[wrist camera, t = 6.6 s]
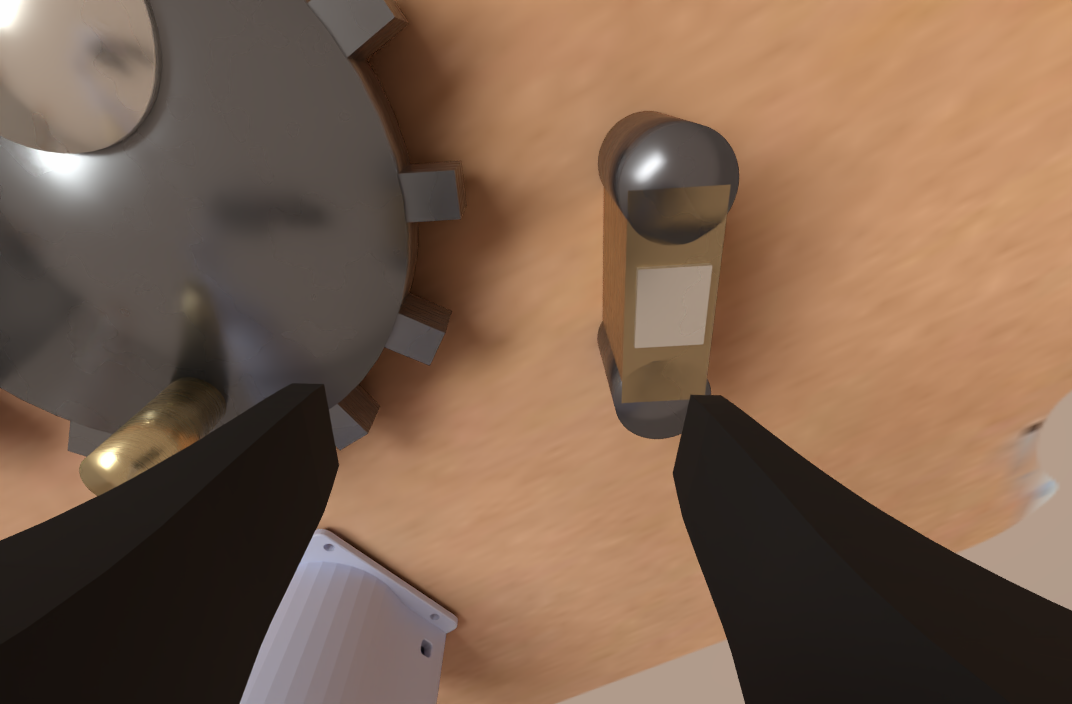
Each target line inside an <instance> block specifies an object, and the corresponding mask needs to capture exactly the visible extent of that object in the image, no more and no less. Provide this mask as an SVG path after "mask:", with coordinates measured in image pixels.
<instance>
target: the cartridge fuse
mask: <svg viewBox="0 0 1072 704" xmlns="http://www.w3.org/2000/svg"><path fill="white" fill-rule="evenodd" d="M598 171H599V176H600V179H601V182H602V184H603V186H604V226H603V321H602V323H601V325H600V328H599V331H598V338H597V339H598V346H599V350H600V354H601V357H602V361H603V365H604V369H605V372H606V376H607V380H608V383H609V387H610V391H611V395H612V398H613V402H614V406H615V410H616V413H617V416H618V418H619V420H620V422H621V423H622V424H623V426H624V427H625V428H627V429H628V430H629V431H631V432H632V433H634V434H636V435H638V436H641V437H645V438H650V439H664V438H670V437H674V436H677V435H679V434H682V430H683V426H684V421H685V417H686V412H687V408H688V404H689V399H690V395H711V388H710V384H709V382H708V379H707V374H708V365H709V357H710V349H711V341H712V333H713V325H714V316H715V308H716V300H717V292H718V284H719V276H720V267H721V259H722V251H723V243H724V235H725V227H726V219H727V214H728V212H729V210H730V208H731V207H732V204H733V202H734V200H735V197H736V194H737V190H738V185H739V168H738V163H737V159H736V156H735V153H734V151H733V149H732V148H731V146H730V145H729V143H728V142H727V140H726V139H725V138H724V137H723V136H722V135H720V134H719V133H718V132H716V131H715V130H713V129H711V128H709V127H706V126H703V125H700V124H697V123H693V122H690V121H686V120H683V119H680V118H676V117H673V116H669V115H666V114H663V113H659V112H654V111H642V112H637V113H633V114H631V115H629V116H627V117H625V118H623V119H622V120H620V121H619V122H618V123H616V124H615V125H614V126H613V127H612V128H611V130H610V131H609V132H608V134H607V135H606V137H605V139H604V141H603V143H602V145H601V148H600V151H599V157H598Z"/></svg>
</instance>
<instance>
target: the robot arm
mask: <svg viewBox="0 0 1072 704" xmlns="http://www.w3.org/2000/svg"><path fill="white" fill-rule="evenodd" d="M338 467H339V463H338V457H337V452H336V446H335V441H334V435H333V430H332V424H331V419H330V413H329V408H328V402H327V397H326V392H325V386H324V384H306V383H292V384H290V385H288V386H286V387H284V388H282V389H280V390H279V391H277V392H275V393H274V394H272V395H270V396H269V397H267V398H265V399H264V400H262V401H261V402H259V403H257V404H256V405H254V406H253V407H251V408H249V409H248V410H246V411H245V412H243V413H241V414H240V415H238V416H237V417H235V418H233V419H232V420H230V421H229V422H227V423H225V424H224V425H222V426H221V427H219V428H217V429H216V430H214V431H213V432H211V433H209V434H208V435H206V436H205V437H203V438H201V439H200V440H198V441H196V442H195V443H193V444H191V445H190V446H188V447H186V448H184V449H183V450H181V451H179V452H177V453H176V454H174V455H172V456H170V457H169V458H167V459H165V460H163V461H162V462H160V463H158V464H156V465H155V466H153V467H151V468H149V469H148V470H146V471H144V472H143V473H141V474H139V475H137V476H135V477H134V478H132V479H130V480H128V481H126V482H124V483H122V484H121V485H119V486H117V487H115V488H113V489H111V490H109V491H107V492H105V493H103V494H101V495H99V496H97V497H95V498H93V499H91V500H89V501H87V502H85V503H83V504H81V505H79V506H77V507H75V508H72V509H70V510H68V511H66V512H64V513H62V514H60V515H58V516H56V517H54V518H52V519H49V520H47V521H45V522H43V523H41V524H38V525H36V526H34V527H31V528H29V529H27V530H24V531H22V532H20V533H17V534H15V535H13V536H10V537H8V538H6V539H3V540H1V541H0V704H437V697H438V690H439V683H440V676H441V668H442V661H443V654H444V647H445V640H446V634H447V633H449V632H451V631H452V630H454V629H455V628H456V627H457V624H458V618H457V617H456V616H455V615H454V614H452V613H451V612H449V611H448V610H446V609H445V608H443V607H442V606H440V605H439V604H437V603H436V602H434V601H433V600H431V599H430V598H428V597H427V596H425V595H424V594H422V593H421V592H419V591H418V590H417V589H415V588H414V587H412V586H411V585H409V584H408V583H406V582H405V581H403V580H402V579H400V578H399V577H397V576H396V575H394V574H393V573H391V572H390V571H388V570H387V569H385V568H384V567H382V566H381V565H379V564H378V563H376V562H375V561H373V560H372V559H370V558H369V557H367V556H366V555H364V554H363V553H362V552H360V551H359V550H357V549H356V548H354V547H353V546H351V545H350V544H348V543H347V542H345V541H344V540H342V539H341V538H339V537H338V536H336V535H335V534H333V533H332V532H330V531H328V530H326V529H317V530H316V528H317V526H318V524H319V522H320V520H321V518H322V515H323V513H324V511H325V508H326V505H327V502H328V499H329V496H330V493H331V490H332V487H333V484H334V480H335V477H336V474H337V471H338ZM673 477H674V482H675V486H676V491H677V496H678V500H679V504H680V509H681V513H682V517H683V520H684V523H685V526H686V529H687V532H688V534H689V537H690V540H691V542H692V545H693V548H694V551H695V553H696V556H697V559H698V561H699V564H700V567H701V569H702V572H703V575H704V577H705V580H706V583H707V585H708V588H709V591H710V593H711V596H712V599H713V601H714V604H715V607H716V609H717V612H718V615H719V617H720V620H721V623H722V625H723V628H724V631H725V634H726V637H727V640H728V643H729V646H730V649H731V653H732V656H733V660H734V663H735V667H736V671H737V675H738V679H739V682H740V686H741V690H742V694H743V697H744V701H745V704H1072V611H1071V610H1069V609H1067V608H1065V607H1063V606H1060V605H1058V604H1056V603H1053V602H1051V601H1050V600H1047V599H1045V598H1043V597H1041V596H1039V595H1037V594H1035V593H1033V592H1031V591H1029V590H1026V589H1024V588H1022V587H1020V586H1018V585H1016V584H1014V583H1012V582H1010V581H1008V580H1006V579H1004V578H1002V577H1000V576H998V575H996V574H994V573H992V572H990V571H988V570H987V569H984V568H983V567H981V566H979V565H977V564H975V563H973V562H971V561H969V560H967V559H965V558H963V557H962V556H960V555H958V554H956V553H954V552H952V551H950V550H948V549H947V548H945V547H943V546H941V545H939V544H938V543H936V542H934V541H932V540H930V539H929V538H927V537H925V536H923V535H922V534H920V533H918V532H917V531H915V530H913V529H912V528H910V527H908V526H907V525H905V524H903V523H901V522H900V521H898V520H896V519H895V518H893V517H891V516H890V515H888V514H886V513H885V512H883V511H881V510H880V509H878V508H877V507H875V506H873V505H872V504H870V503H869V502H867V501H866V500H864V499H863V498H861V497H860V496H858V495H857V494H855V493H854V492H852V491H851V490H849V489H848V488H846V487H845V486H843V485H842V484H840V483H839V482H837V481H836V480H835V479H833V478H832V477H830V476H829V475H827V474H826V473H824V472H823V471H822V470H820V469H819V468H817V467H816V466H815V465H813V464H812V463H810V462H809V461H808V460H806V459H805V458H804V457H802V456H801V455H800V454H798V453H797V452H796V451H794V450H793V449H792V448H790V447H789V446H788V445H786V444H785V443H784V442H782V441H781V440H780V439H778V438H777V437H776V436H775V435H773V434H772V433H771V432H769V431H768V430H767V429H766V428H764V427H763V426H762V425H760V424H759V423H758V422H756V421H755V420H754V419H753V418H751V417H750V416H749V415H747V414H746V413H745V412H743V411H742V410H741V409H739V408H738V407H737V406H735V405H734V404H733V403H731V402H730V401H728V400H727V399H725V398H724V397H722V396H721V395H690V399H689V404H688V408H687V412H686V417H685V421H684V426H683V430H682V435H681V439H680V443H679V448H678V452H677V457H676V461H675V466H674V470H673Z"/></svg>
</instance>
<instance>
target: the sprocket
mask: <svg viewBox="0 0 1072 704" xmlns="http://www.w3.org/2000/svg"><path fill="white" fill-rule="evenodd" d="M407 24H409V22H408V21H407V19H406V18H405V16H404V14H403V13H402V11H401V10H400V8H399V7H398V5H397V4H396V2H395V1H394V0H0V388H2V389H4V390H5V391H7V392H9V393H11V394H13V395H14V396H16V397H18V398H20V399H22V400H24V401H26V402H28V403H30V404H32V405H34V406H37V407H39V408H41V409H43V410H45V411H47V412H50V413H52V414H54V415H56V416H59V417H62V418H64V419H67V420H70V431H69V442H68V451H70V452H74V453H77V454H80V455H83V456H86V458H85V459H84V460H83V461H82V462H81V464H80V468H79V473H80V477H81V479H82V481H83V483H84V484H85V486H86V487H87V488H88V489H89V490H90V491H91V492H93V493H94V494H95V495H97V496H99V495H101V494H103V493H105V492H107V491H109V490H111V489H113V488H115V487H117V486H119V485H121V484H122V483H124V482H126V481H128V480H130V479H132V478H134V477H135V476H137V475H139V474H141V473H143V472H144V471H146V470H148V469H149V468H151V467H153V466H155V465H156V464H158V463H160V462H162V461H163V460H165V459H167V458H169V457H170V456H172V455H174V454H176V453H177V452H179V451H181V450H183V449H184V448H186V447H188V446H190V445H191V444H193V443H195V442H196V441H198V440H200V439H201V438H203V437H205V436H206V435H208V434H209V433H211V432H213V431H214V430H216V429H217V428H219V427H221V426H222V425H224V424H225V423H227V422H229V421H230V420H232V419H233V418H235V417H237V416H238V415H240V414H241V413H243V412H245V411H246V410H248V409H249V408H251V407H253V406H254V405H256V404H257V403H259V402H261V401H262V400H264V399H265V398H267V397H269V396H270V395H272V394H274V393H275V392H277V391H279V390H280V389H282V388H284V387H286V386H288V385H290V384H292V383H306V384H324V386H325V392H326V397H327V402H328V408H329V413H330V419H331V424H332V430H333V435H334V441H335V446H336V447H337V448H338V449H339V450H341V449H343V448H345V447H346V446H348V445H350V444H351V443H353V442H355V441H356V440H358V439H360V438H361V437H363V436H365V435H366V434H368V432H369V430H370V428H371V426H372V423H373V421H374V419H375V416H376V414H377V412H378V410H379V407H380V405H379V404H378V403H377V402H376V401H375V400H374V399H373V398H372V397H371V396H370V395H369V394H368V393H367V392H366V391H365V390H364V389H363V388H362V387H361V386H360V385H359V383H360V382H361V381H362V380H363V379H364V377H365V376H366V375H367V373H368V372H369V370H370V369H371V368H372V366H373V365H374V364H375V362H376V361H377V359H378V358H379V356H380V354H381V352H382V350H383V348H384V347H385V348H388V349H390V350H393V351H395V352H397V353H400V354H402V355H405V356H407V357H410V358H412V359H415V360H417V361H420V362H422V363H425V364H427V365H430V364H431V362H432V360H433V358H434V356H435V353H436V351H437V349H438V347H439V345H440V343H441V341H442V338H443V336H444V334H445V332H446V328H447V325H448V322H449V319H450V315H451V312H452V311H450V310H448V309H446V308H444V307H441V306H439V305H437V304H434V303H432V302H430V301H427V300H425V299H423V298H421V297H418V296H416V295H414V294H411V293H409V292H410V289H411V286H412V283H413V278H414V272H415V266H416V260H417V255H418V234H419V222H423V221H439V220H455V219H461V217H462V215H463V213H464V211H465V208H466V206H467V203H466V195H465V187H464V178H463V170H462V162H461V161H450V162H434V163H418V164H410V160H409V156H408V151H407V148H406V145H405V142H404V140H403V137H402V134H401V131H400V128H399V125H398V123H397V120H396V117H395V114H394V112H393V110H392V108H391V106H390V104H389V101H388V99H387V97H386V95H385V93H384V91H383V89H382V87H381V85H380V83H379V81H378V79H377V77H376V75H375V73H374V71H373V70H372V68H371V67H370V65H369V64H368V62H367V60H366V59H367V58H368V57H369V56H371V55H372V54H373V53H374V52H375V51H376V50H378V49H379V48H380V47H381V46H382V45H384V44H385V43H386V42H387V41H388V40H390V39H391V38H392V37H393V36H394V35H396V34H397V33H398V32H399V31H400V30H402V29H403V28H404V27H405V26H406V25H407Z"/></svg>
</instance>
